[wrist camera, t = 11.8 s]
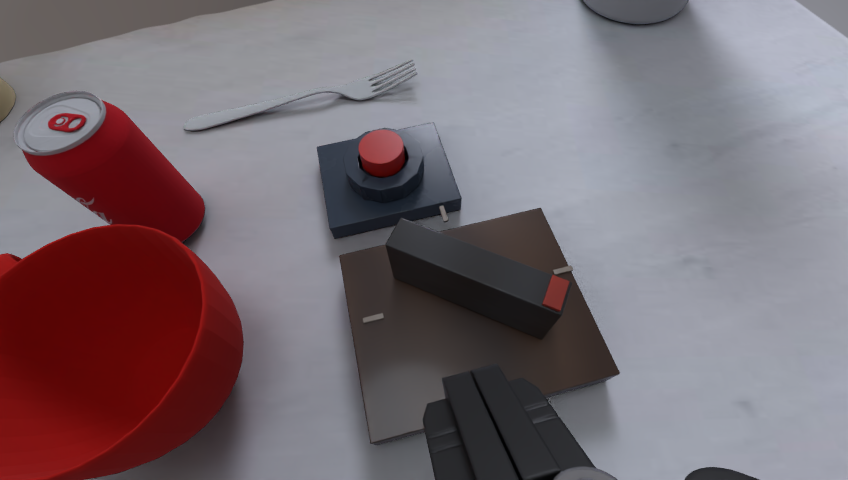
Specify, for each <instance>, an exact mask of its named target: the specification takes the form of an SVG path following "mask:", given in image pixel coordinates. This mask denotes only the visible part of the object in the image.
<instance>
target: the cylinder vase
mask: <svg viewBox="0 0 848 480" xmlns="http://www.w3.org/2000/svg"><path fill="white" fill-rule="evenodd" d="M583 1H584V2H585V3H586V5H587V6H588V7H589V8H591V9H592V10H593V11H595V12H596V13H598V14H600V15H602V16H604V17H606V18H609V19H612V20H615V21H619V22H623V23H630V24H649V23H656V22H660V21H663V20H666V19H669V18H671V17H673V16H674V15H676V14H677V13H679V12H680V11H681V10H682V9H683V8H684V7H685V5H686V4H687V2H688V0H583Z"/></svg>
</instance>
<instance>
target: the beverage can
mask: <svg viewBox="0 0 848 480" xmlns="http://www.w3.org/2000/svg"><path fill="white" fill-rule="evenodd" d="M13 137H14V141H15V143H16V145H17V146H18V147H19V148H20V149H22V151H23V153H24V155H25V158H26V159H27V161H28V163H29V165H30V166H31V167H32V168H33V169H34V170H35V171H36V172H37V173H39V174H40V175H42V176H43V177H44V178H46V179H47V180H49V181H50V182H51V183H53V184H54V185H56V186H57V187H58V188H60V189H61V190H63V191H64V192H65V193H67V194H68V195H70V196H71V197H72V198H74V199H75V200H77V201H78V202H79V203H81V204H82V205H84V206H85V207H86V208H88V209H89V210H91V211H92V212H93V213H95V214H96V215H98V216H99V217H100V218H102V219H103V220H105V221H106V222H107V223H109V224H110V225H115V224H121V225H140V226H145V227H149V228H154V229H158V230H160V231H162V232H164V233H166V234H168V235H171V236H173V237H175V238H177V239H178V240H179V241H180V242H183V241H185V240H186V239H187V238H189V237H190V236H191V235H192V234H193V233H194V232H195V231H196V230H197V229H198V227H199V226H200V224H201V222H202V220H203V217H204V213H205V205H204V201H203V199H202V198H201V196H200V195H199V194H198V193H197V192H196V191H195V190H194V188H193V187H192V186H191V185H190V184H189V183H188V182H187V181H186V180H185V179H184V177H183V176H182V175H181V174H180V173H179V172H178V171H177V170H176V169H175V168H174V166H173V165H172V164H171V163H170V162H169V161H168V160H167V159H166V158H165V157H164V155H163V154H162V153H161V152H160V151H159V150H158V149H157V148H156V147H155V146H154V144H153V143H152V142H151V141H150V140H149V139H148V138H147V137H146V136H145V135H144V133H143V132H142V131H141V130H140V129H139V128H138V127H137V126H136V125H135V124H134V122H133V121H132V120H131V119H130V118H129V117H128V116H127V115H126V114H125V113H124V112H123V111H122V110H120V109H119V108H118V107H116V106H114V105H112V104H110V103H107V102H105V101H103V100H101V99H100V98H99V97H98V96H96V95H94V94H92V93H90V92H85V91H69V92H64V93H60V94H57V95H54V96H51V97H49V98H47V99H45V100H42V101H41V102H39V103H37V104H36V105H35V106H33V107H32V108H30V109H29V110H28V111H27V112H26V113H25V114H24V115H23V116H22V117H21V118H20V120H19V121H18V123H17V124H16V126H15V129H14V134H13Z"/></svg>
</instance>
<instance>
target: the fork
mask: <svg viewBox="0 0 848 480" xmlns="http://www.w3.org/2000/svg"><path fill="white" fill-rule="evenodd" d="M412 61H413V59H410V60H408V61H406V62H404V63H402V64H399V65H397V66H395V67H392V68H390V69H388V70H385V71H383V72H381V73H378V74H375V75H372V76H369V77H365V78H362V79H359V80H356V81H353V82H351V83H348V84H346V85H343V86H334V87H322V88H317V89H313V90H309V91H305V92H302V93H298V94H295V95H291V96H287V97H283V98H279V99H275V100H270V101H266V102H261V103H257V104H252V105H248V106H243V107H238V108H234V109H229V110H224V111H219V112H214V113H209V114H205V115H201V116H198V117H195V118H192V119H190V120H188V121H187V122H186V123H185V125H184V129H185V130H191V131H195V130H203V129H206V128H210V127H214V126H217V125H221V124H224V123H227V122H231V121H234V120H237V119H241V118H244V117H247V116H250V115H254V114H257V113H260V112H263V111H266V110H269V109H272V108H275V107H278V106H281V105H284V104H287V103H290V102H293V101H296V100H299V99H302V98H305V97H308V96H311V95H315V94H319V93H337V94H341V95H343V96H346V97H348V98H351V99H354V100H365V99H369V98H372V97H374V96H377V95H379V94H381V93H384V92H386V91H388V90H389V89H391V88H393V87H395V86H397V85H399V84H401V83H403V82H405V81H407V80H408V79H410V78H412V77H413V76H415V75H417V72H415V73H414V74H412V75H410V76H408V77H406V78H404V79H402V80H400V81H398V82H396V83H394V84H393V85H391V86H389V87H387V88H385V89H383V90H380V91H377V92H374V91H375V90H377V89H379V88H381V87H383V86H385V85H387V84H390V83H392V82H394V81H396V80H398V79H400V78H402V77H404V76H406V75H407V74H409V73H411V72H413V71H415V70H416V68H413V69H411V70H409V71H407V72H405V73H403V74H401V75H399V76H397V77H395V78H393V79H391V80H389V81H387V82H385V83H383V84H380V85H377V86H373V85H374V84H377V83H379V82H381V81H383V80H385V79H388V78H390V77H392V76H394V75H396V74H398V73H401V72H403V71H404V70H406V69H408V68H410V67H412V66H414V65H415V64H414V63H413V64H411V65H408V66H406V67H404V68H402V69H400V70H398V71H396V72H393V73H391V74H389V75H387V76H385V77H382V78H380V79H377V80H373V81H370V80H372V79H374V78H377V77H379V76H381V75H384V74H386V73H388V72H391V71H393V70H395V69H398V68H400V67H402V66H404V65H406V64H408V63H410V62H412Z"/></svg>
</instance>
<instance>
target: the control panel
mask: <svg viewBox="0 0 848 480" xmlns="http://www.w3.org/2000/svg"><path fill="white" fill-rule="evenodd" d="M439 209H440V212H441V215H442V218H443V221H444V222H446V221H448V218H447V215H446V212H445V209H444V206H440V207H439ZM440 233H443V234H446V235H448V236H451V237H454V238H456V239H459V240H462V241H464V242H467V243H469V244H472V245H475V246H477V247H480V248H483V249H485V250H488V251H491V252H493V253H496V254H499V255H501V256H504V257H506V258H509V259H512V260H514V261H517V262H520V263H522V264H525V265H528V266H530V267H533V268H536V269H538V270H541V271H543V272H546V273H549V274H551V275H554V276H557V277H560V278H562V279H565V280H568V281H570V282H572V285H571V289H570V292H569V295H568V298H567V302H566V305H565V308H564V311H563V315H562V316H561V317H560V318H559V320H558V321H557V322H556V323H555V325H554V326H553V327H552V328H551V329H550V331H549V332H548V333H547V334H546V336H545V337H544V338H543V339H539V338H536V337H534V336H532V335H529V334H527V333H525V332H522V331H520V330H517V329H515V328H513V327H510V326H508V325H505V324H503V323H501V322H498V321H496V320H494V319H491V318H489V317H486V316H484V315H482V314H479V313H477V312H474V311H472V310H470V309H467V308H465V307H463V306H460V305H458V304H455V303H453V302H451V301H448V300H446V299H443V298H441V297H439V296H436V295H434V294H432V293H429V292H427V291H424V290H422V289H420V288H417V287H415V286H412V285H410V284H408V283H405V282H403V281H401V280H398V279H396V278H394V277H393V273H392V269H391V265H390V261H389V257H388V253H387V249H386V244H385V245H381V246H377V247H373V248H369V249H364V250H360V251H356V252H352V253H347V254H343V255H340V256H339V257H340V263H341V269H342V275H343V281H344V287H345V293H346V299H347V305H348V311H349V317H350V323H351V329H352V335H353V341H354V347H355V353H356V359H357V365H358V371H359V377H360V383H361V389H362V395H363V401H364V407H365V413H366V419H367V426H368V432H369V438H370V443H371V444H374V445H380V444H384V443H387V442H391V441H394V440H398V439H402V438H405V437H409V436H412V435H416V434H419V433H423V432H425V430H424V425H423V421H422V419H423V416H424V413H425V409H426V406H427V404H428V403H431V402H435V401H439V400H442V399H446V398H445V393H444V388H443V384H442V378H444V377H448V376H452V375H456V374H459V373H463V372H467V371H469V373H470V370H474V369H478V368H481V367H485V366H489V365H493V364H498V365H499V367H500V369H501V370H502V372H503V373H504V375H505V377H506V378H507V380H508V381H511V380H515V379H519V378H524V379H525V380H527V381H529V382H530V383H532V384H534V385H535V386H537V387H538V388H539V389H540V390H541V392H542V393H543V395H544V396H545V397H546V398H547V397H550V396H554V395H558V394H561V393H565V392H568V391H572V390H575V389H579V388H582V387H586V386H589V385H593V384H597V383H600V382H604V381H606V380H608V379H610V378H612V377H614V376H616V375H618V374H620V373H619V370H618V368H617V366H616V364H615V362H614V360H613V358H612V356H611V354H610V352H609V350H608V347H607V345H606V343H605V341H604V339H603V337H602V335H601V333H600V331H599V329H598V327H597V324H596V322H595V320H594V318H593V316H592V314H591V312H590V310H589V308H588V306H587V304H586V301H585V299H584V297H583V295H582V293H581V291H580V289H579V287H578V285H577V283H576V281H575V278H574V276H573V274H572V272H571V271H573V268H572V266H568V264H567V262H566V260H565V258H564V255H563V253H562V251H561V249H560V247H559V245H558V243H557V241H556V239H555V237H554V235H553V232H552V230H551V228H550V226H549V224H548V222H547V220H546V218H545V216H544V214H543V212H542V209H541V208H537V209H533V210H529V211H525V212H520V213H516V214H512V215H508V216H503V217H499V218H495V219H491V220H487V221H482V222H478V223H474V224H470V225H465V226H461V227H457V228H453V229H449V230H444V231H440Z"/></svg>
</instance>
